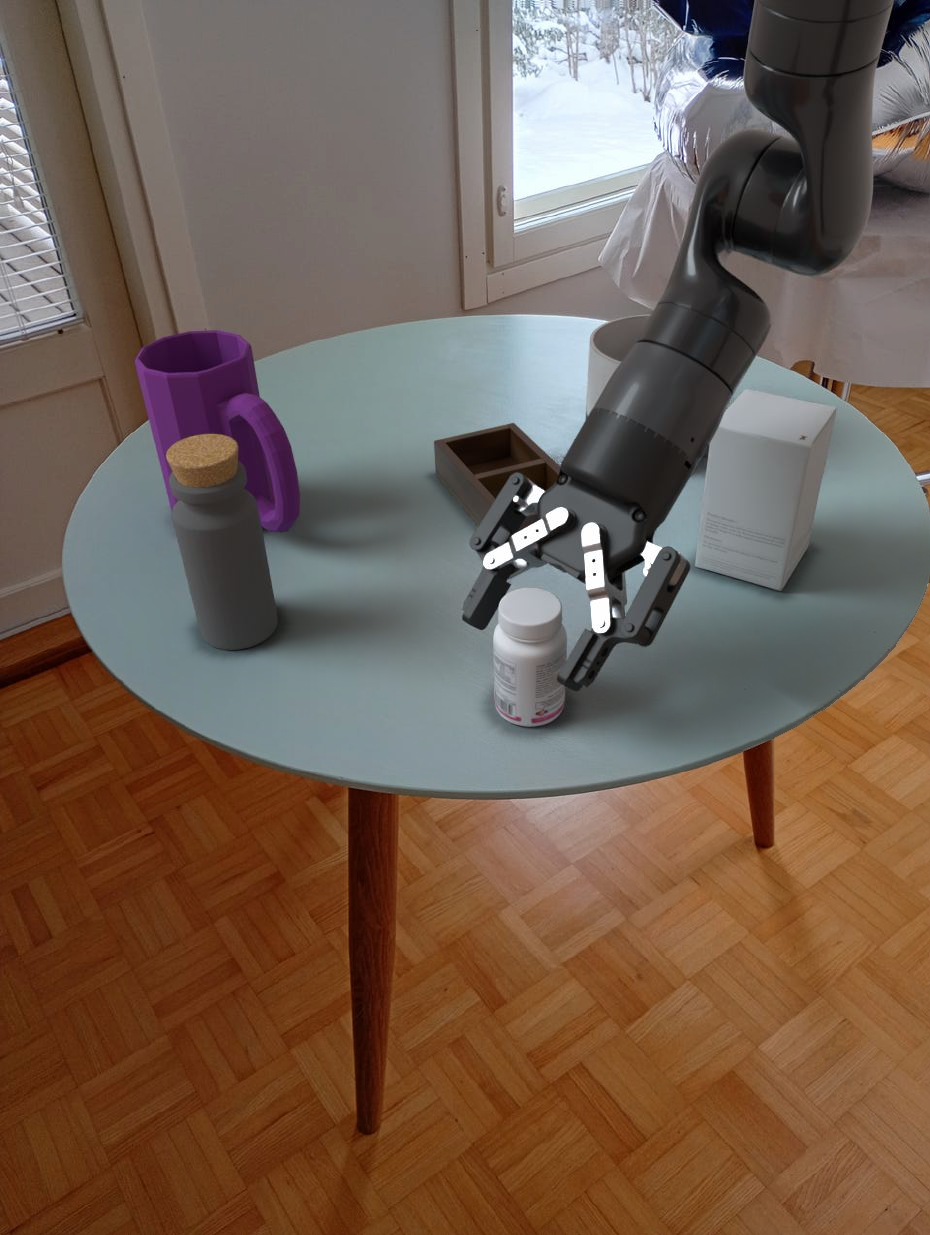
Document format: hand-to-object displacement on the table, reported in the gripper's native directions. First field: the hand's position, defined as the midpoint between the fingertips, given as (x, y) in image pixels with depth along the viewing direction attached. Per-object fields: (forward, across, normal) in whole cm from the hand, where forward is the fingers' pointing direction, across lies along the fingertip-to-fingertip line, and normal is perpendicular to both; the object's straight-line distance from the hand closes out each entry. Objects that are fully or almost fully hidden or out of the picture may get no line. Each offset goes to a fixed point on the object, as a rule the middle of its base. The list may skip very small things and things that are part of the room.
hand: (517, 655), depth 63 cm
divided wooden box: (-10, -19, +17) cm, 27 cm away
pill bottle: (+3, 0, +4) cm, 5 cm away
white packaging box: (-15, +1, +22) cm, 27 cm away
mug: (+4, -33, +4) cm, 34 cm away
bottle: (+10, -21, -2) cm, 23 cm away
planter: (-22, -17, +29) cm, 40 cm away
